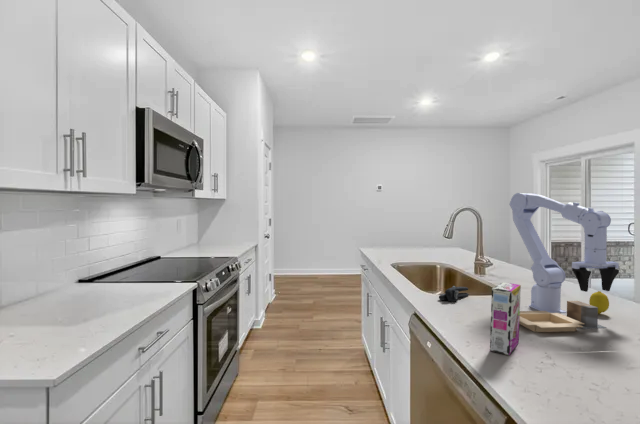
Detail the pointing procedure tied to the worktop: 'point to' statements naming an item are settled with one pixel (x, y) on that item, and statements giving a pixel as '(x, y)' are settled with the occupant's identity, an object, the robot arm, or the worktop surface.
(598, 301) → the lemon
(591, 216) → the robot arm
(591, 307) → the walnut box
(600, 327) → the rubber mat
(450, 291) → the can opener
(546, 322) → the carton
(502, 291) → the candy bar box
